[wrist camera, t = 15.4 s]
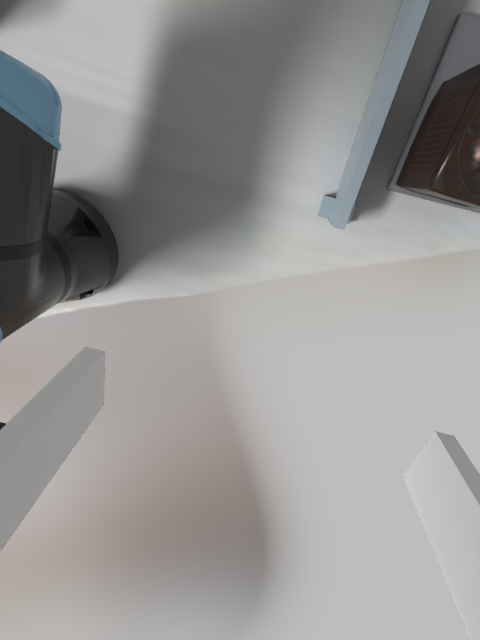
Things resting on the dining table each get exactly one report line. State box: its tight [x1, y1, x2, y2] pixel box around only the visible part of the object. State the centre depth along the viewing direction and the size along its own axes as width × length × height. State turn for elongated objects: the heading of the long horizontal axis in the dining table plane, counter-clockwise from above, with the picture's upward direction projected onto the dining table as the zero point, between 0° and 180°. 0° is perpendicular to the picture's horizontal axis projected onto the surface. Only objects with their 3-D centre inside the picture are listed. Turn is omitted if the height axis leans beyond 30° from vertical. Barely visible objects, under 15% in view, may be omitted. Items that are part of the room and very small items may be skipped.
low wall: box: [318, 0, 430, 229], centre depth 31 cm, size 4×28×5 cm, turn 167°
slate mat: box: [387, 13, 480, 213], centre depth 34 cm, size 12×16×1 cm
